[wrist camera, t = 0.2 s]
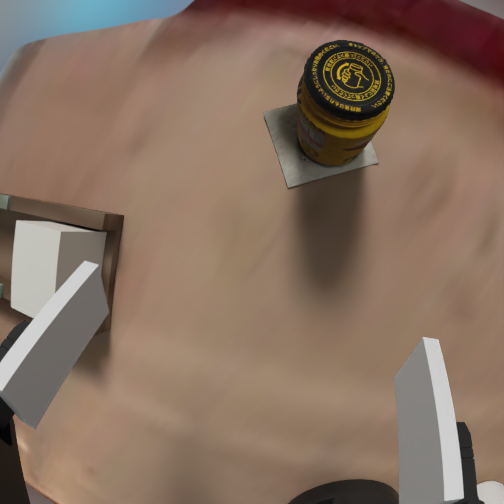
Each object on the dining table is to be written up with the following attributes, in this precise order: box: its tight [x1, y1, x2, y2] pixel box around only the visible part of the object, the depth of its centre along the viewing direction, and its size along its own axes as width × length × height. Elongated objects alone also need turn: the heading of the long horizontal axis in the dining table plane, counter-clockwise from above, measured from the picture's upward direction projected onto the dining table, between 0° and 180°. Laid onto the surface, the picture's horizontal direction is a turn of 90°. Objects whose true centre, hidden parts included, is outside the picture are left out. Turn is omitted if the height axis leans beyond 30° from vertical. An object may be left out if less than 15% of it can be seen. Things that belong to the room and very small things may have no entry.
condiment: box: [263, 40, 395, 188], centre depth 21 cm, size 7×8×12 cm
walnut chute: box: [0, 193, 124, 336], centre depth 29 cm, size 12×22×4 cm, turn 79°
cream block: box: [11, 220, 107, 318], centre depth 26 cm, size 8×6×7 cm
